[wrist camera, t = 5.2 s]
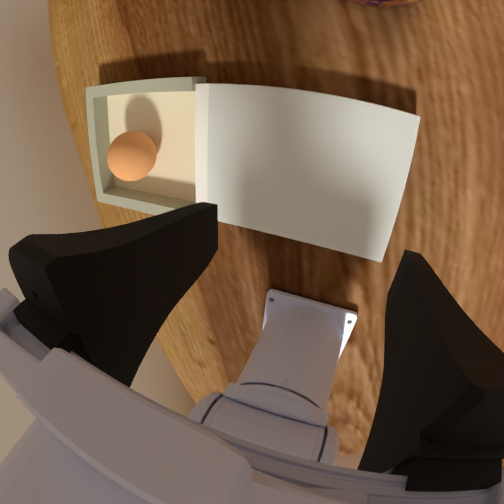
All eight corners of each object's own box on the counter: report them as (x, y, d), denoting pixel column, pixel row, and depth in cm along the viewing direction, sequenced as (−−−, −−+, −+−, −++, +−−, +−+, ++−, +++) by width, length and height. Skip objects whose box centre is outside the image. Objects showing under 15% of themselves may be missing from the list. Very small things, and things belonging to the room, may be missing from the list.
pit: (205, 213, 24) (193, 224, 22) (111, 193, 27) (97, 201, 25) (207, 76, 18) (192, 76, 16) (102, 84, 21) (85, 87, 19)
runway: (381, 251, 20) (381, 262, 19) (205, 208, 24) (196, 215, 23) (416, 114, 14) (420, 116, 13) (206, 83, 18) (195, 83, 17)
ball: (156, 189, 21) (107, 182, 19) (140, 178, 24) (97, 172, 21) (170, 138, 20) (121, 126, 18) (152, 134, 23) (109, 125, 20)
